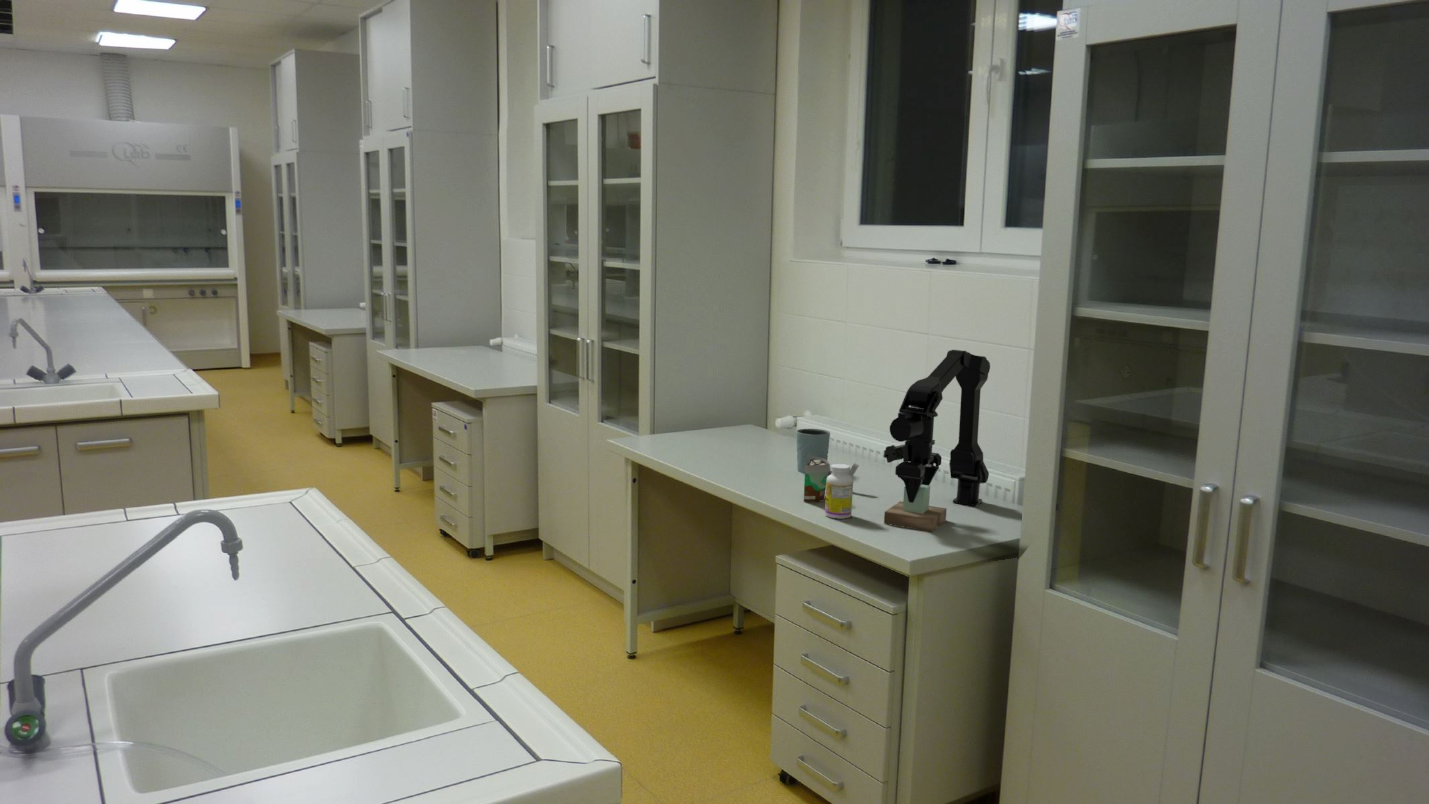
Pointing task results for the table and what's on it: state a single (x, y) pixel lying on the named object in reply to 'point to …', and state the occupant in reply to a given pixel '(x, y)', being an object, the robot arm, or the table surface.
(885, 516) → the walnut base
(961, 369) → the robot arm
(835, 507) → the supplement bottle
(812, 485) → the food container
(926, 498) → the green block
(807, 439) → the grey plant pot
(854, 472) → the lighter
